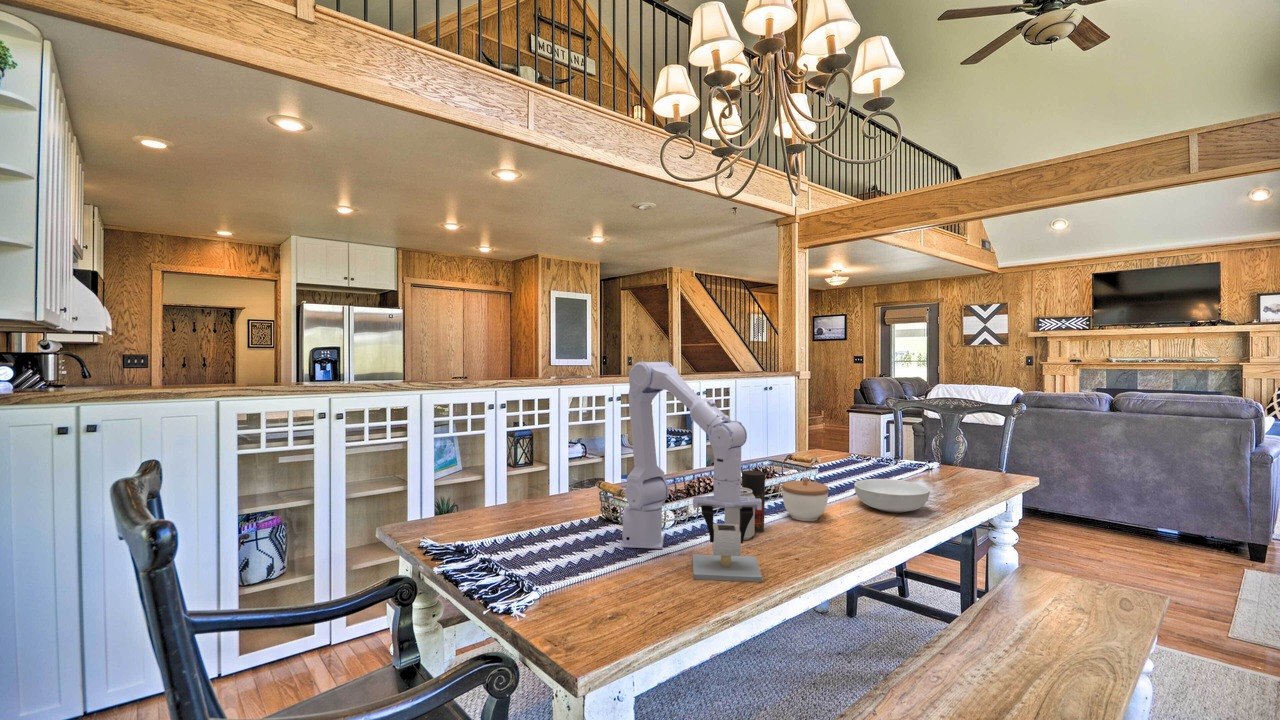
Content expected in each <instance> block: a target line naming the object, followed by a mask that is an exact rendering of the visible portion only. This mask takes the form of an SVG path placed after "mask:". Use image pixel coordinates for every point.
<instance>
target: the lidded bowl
mask: <svg viewBox="0 0 1280 720" xmlns="http://www.w3.org/2000/svg"><path fill="white" fill-rule="evenodd" d="M781 486H782V488H781V489H782V500H783V501H782V502H783V504H784V508H785V510H786V512H787V513H788V514H790V517H791V518H792V519H793V520H796V521H801V522H815V521H818V519H819V518H820V517H821V516H822V515H823V514H824V513H825V510H826V509H827V507H828V499H829V489H830V488H829V486H828V485H827V484H824V483H821V482H818V481H817V482H816V481H810V480H808V478H806V477H805V478H802V480H787V481H785V482H783V483H782V485H781Z"/></svg>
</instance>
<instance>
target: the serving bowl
mask: <svg viewBox="0 0 1280 720" xmlns="http://www.w3.org/2000/svg"><path fill="white" fill-rule="evenodd" d="M853 487H854V492H855V494H856V496H857V498H858V499H859V500H860V501H861V503H863V504H865V506H868V507H871V508H874V509H876V510H879V511H882V512H887V513H895V514H896V513H899V514H900V513H905V512H912V511H917V510H918V509H921V508H922V507H923V506H925V505H926V503H927V502H928V501H929V499H930V498H929V497H930V494H931V489H930V488H929V487H927V486H925V485H923V484H920V483H917V482H913V481H907V480H902V479H901V480H900V479H892V478H891V479H889V478H869V479H868V478H867V479H860V480H857V481H855V482H854V484H853Z"/></svg>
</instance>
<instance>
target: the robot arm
mask: <svg viewBox="0 0 1280 720" xmlns="http://www.w3.org/2000/svg"><path fill="white" fill-rule="evenodd" d="M628 383H629V390H628V407H629V419H630V429H631V430H630V431H631V443H632V454H633V465H634V467H633V469H632V470H631V471H630V472H629V473H628V475H627V476H626V487H625V492H624V493H625V494H624V495H625V499H626V501H627V504H628V505H627V506H624V507H623V513H622V531H621V535H622V547H623V548H629V549H630V548H631V549H632V548H633V549H635V548H637V549H656V550H657V549H659V550H660V549H663V545H664V536H663V535H662V532H663V531H662V528H663V527H662V525H663V524H662V521H663V519H662V517H663V507H664V504H665V501H667V499H668V497H669V493H670V488H669V485H668V483H667V481H666V477H665V475H666V474H665V472H664V470H663V469H661V468H660V467H659V466H658V462H657V452H656V451H657V450H656V439H655V429H654V428H655V427H654V416H653V406H652V405H653V404H652V401H653V400H654V399H655V397H656V396H657V395H658V394H659V393H661V392H663V391H668V393H670V394H671V395H672V396H674V397H675V398H676V399H677V401H679V402H680V403H682V404H683V405H684V406H685V407H686V408H688V410H689V415H690V416H689V418H690V419H691V420H692V421H694V423H696V425H697V426H698V427H699V428H700V429H701V430H702V431H704V433H705V434H707V436H708V440H709V441H708V442H709V444H710V446H711V448H712V455H713V460H714V461H713V495H707V496H706V495H705V496H693V497H692V508H693V509H698V508H700V509H701V513H702V517H703V519H704V521H705V524H706V526H707V529H708V534H709V542H710V543H712V542H713V540H714V536H713V524H714V508H715V509H717V508H719V509H725V508H740V531H741V544H744V541H745V540H744V535H745V532H746V529H747V526H748V524H749V522H750V520H751V519H752V517H753V509H756V510H762V501H761V499H755V498H746V497H741V487H742V447H743V446H744V445H745V443H746V442H747V439H748V432H747V430H746V428H745V426H744V425H743V423H742V422H740V421H739V420H732V419H731V418H730V416H729V415H727V414H725V413H724V412H723V411H722V410H720V408H718V407H717V406H716V402H715V401H714V399H708V398H700V397H699V395H698V394H697V393H696V392H695V391H694V390H693V389H692V388H691V387H690V386H689V384H688V383H687V382H686V381H685V380H684V379H683V378H682V377H681V376H680V374H679V370H678V369H677V368H676V367H675V366H673V365H672V364H671V362H669V361H666V360H665V361H664V360H663V361H651V362H650V361H638V362H636V363H635V364H634V365H633V366H632V367H631V369H630V370H629V371H628Z"/></svg>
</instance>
